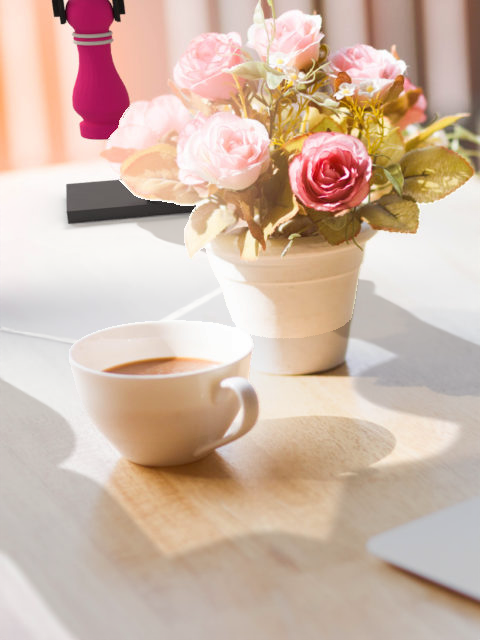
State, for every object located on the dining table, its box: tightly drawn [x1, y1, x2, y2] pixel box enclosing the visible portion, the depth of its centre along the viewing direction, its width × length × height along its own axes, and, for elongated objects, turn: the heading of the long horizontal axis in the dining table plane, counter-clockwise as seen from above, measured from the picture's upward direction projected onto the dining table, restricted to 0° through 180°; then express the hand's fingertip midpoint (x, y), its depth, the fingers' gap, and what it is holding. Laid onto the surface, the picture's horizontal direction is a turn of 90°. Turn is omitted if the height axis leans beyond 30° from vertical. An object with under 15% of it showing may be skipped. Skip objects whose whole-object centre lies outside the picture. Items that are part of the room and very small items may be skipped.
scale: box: [65, 179, 196, 225], centre depth 160 cm, size 16×14×4 cm
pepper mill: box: [64, 0, 131, 141], centre depth 154 cm, size 7×7×20 cm
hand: (90, 20), depth 152 cm, fingers closed on pepper mill, 6 cm apart
